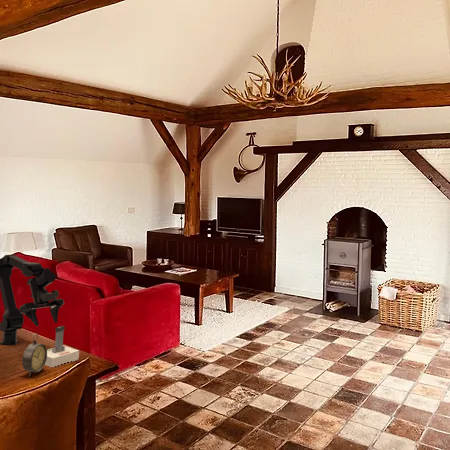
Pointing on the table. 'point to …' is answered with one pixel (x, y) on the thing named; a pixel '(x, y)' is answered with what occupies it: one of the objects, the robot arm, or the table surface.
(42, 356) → the alarm clock
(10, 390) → the table surface
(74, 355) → the switch box
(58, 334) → the breaker lever
